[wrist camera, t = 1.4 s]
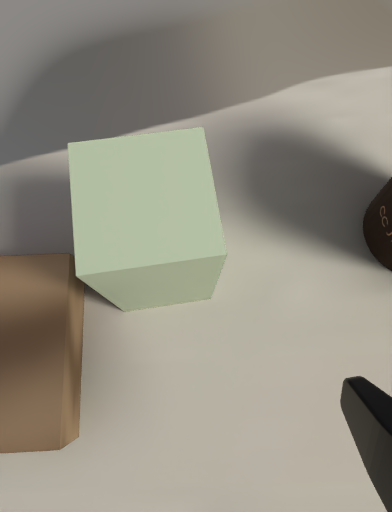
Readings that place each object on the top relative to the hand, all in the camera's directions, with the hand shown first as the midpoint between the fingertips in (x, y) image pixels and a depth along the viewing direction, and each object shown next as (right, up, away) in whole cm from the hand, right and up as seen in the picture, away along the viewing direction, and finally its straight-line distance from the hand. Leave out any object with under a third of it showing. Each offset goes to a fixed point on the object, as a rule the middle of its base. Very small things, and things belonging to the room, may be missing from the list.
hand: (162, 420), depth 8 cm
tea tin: (-1, +3, +15) cm, 15 cm away
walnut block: (-11, -2, +13) cm, 18 cm away
